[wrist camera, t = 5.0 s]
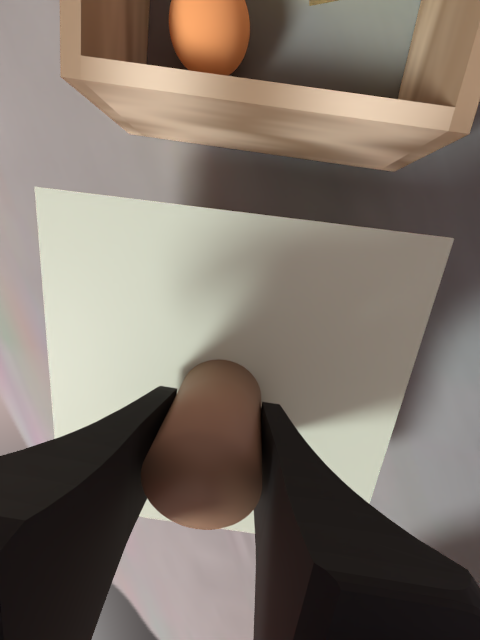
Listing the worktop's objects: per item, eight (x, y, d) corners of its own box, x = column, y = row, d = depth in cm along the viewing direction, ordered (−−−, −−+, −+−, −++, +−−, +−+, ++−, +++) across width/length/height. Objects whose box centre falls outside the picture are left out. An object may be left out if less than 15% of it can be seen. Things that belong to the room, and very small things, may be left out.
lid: (443, 237, 10) (593, 246, 5) (351, 534, 14) (394, 680, 9) (47, 189, 10) (-118, 159, 6) (68, 493, 14) (-20, 616, 10)
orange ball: (255, 14, 12) (255, -55, 9) (245, 98, 13) (241, 58, 10) (183, 5, 12) (161, -67, 10) (177, 89, 13) (154, 47, 10)
